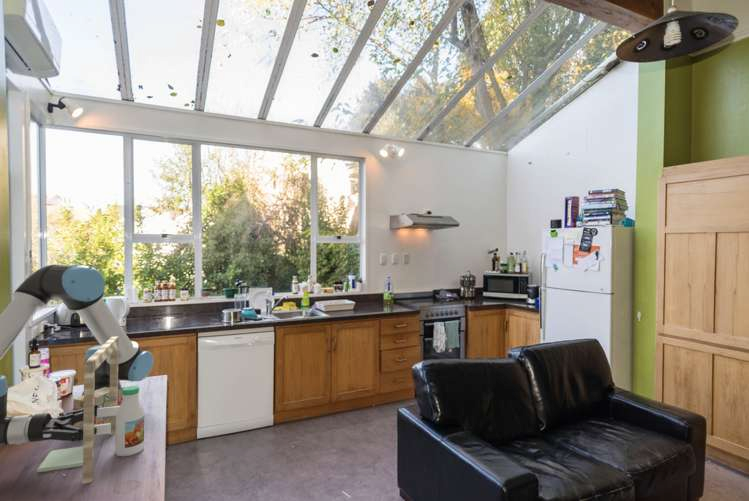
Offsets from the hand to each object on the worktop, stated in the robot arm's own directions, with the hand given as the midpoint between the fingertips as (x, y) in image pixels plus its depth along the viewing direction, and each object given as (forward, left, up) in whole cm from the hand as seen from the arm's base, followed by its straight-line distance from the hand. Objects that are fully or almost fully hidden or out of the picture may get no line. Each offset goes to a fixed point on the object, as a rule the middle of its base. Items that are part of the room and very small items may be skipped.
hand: (116, 418), depth 128 cm
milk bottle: (-2, +3, -11) cm, 12 cm away
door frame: (0, -4, -11) cm, 12 cm away
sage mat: (+3, -12, -11) cm, 17 cm away
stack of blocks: (-24, -14, -11) cm, 30 cm away
